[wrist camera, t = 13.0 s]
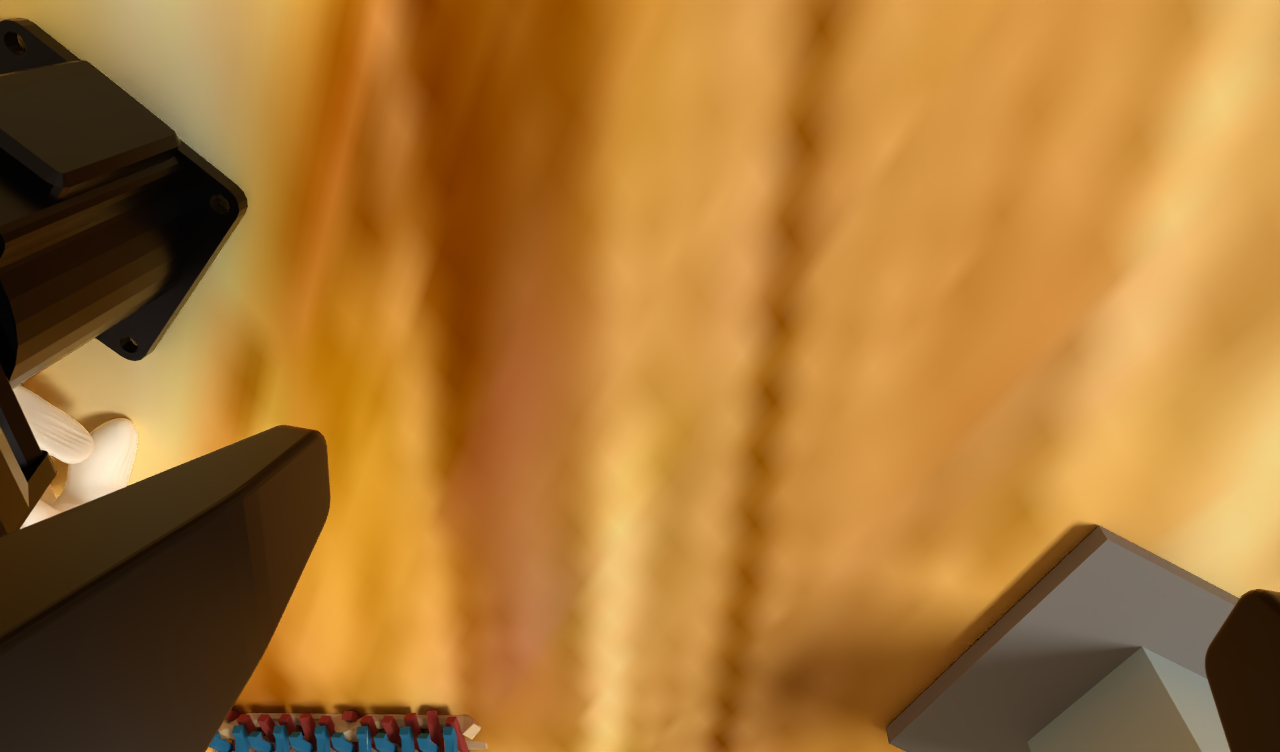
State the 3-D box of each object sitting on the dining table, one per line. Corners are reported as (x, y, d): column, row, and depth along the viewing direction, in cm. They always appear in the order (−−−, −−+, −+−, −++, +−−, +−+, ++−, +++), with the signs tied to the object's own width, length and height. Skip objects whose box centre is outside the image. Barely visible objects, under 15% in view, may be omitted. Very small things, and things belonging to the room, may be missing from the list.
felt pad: (886, 727, 27) (888, 743, 27) (1098, 525, 23) (1107, 539, 22) (1126, 838, 29) (1133, 855, 28) (1374, 668, 24) (1388, 685, 24)
